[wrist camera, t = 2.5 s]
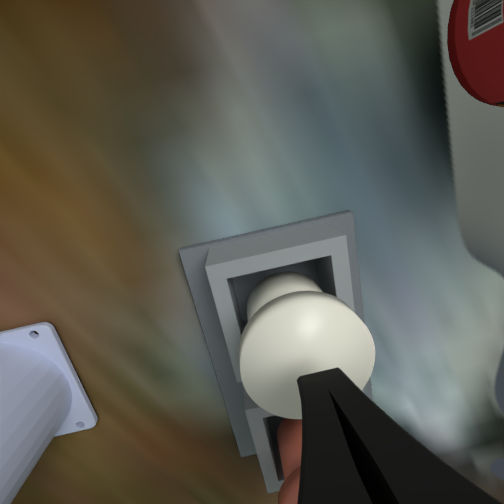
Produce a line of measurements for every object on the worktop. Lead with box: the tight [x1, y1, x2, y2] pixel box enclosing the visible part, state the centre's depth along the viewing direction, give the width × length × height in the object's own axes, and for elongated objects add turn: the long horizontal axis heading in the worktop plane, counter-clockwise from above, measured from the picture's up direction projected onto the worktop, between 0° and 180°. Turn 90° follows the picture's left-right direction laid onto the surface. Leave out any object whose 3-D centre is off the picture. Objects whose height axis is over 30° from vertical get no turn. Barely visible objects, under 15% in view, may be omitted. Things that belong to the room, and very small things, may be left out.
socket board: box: [179, 210, 373, 493], centre depth 17 cm, size 10×16×4 cm, turn 12°
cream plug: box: [239, 271, 375, 419], centre depth 13 cm, size 5×5×4 cm
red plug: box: [277, 418, 302, 504], centre depth 15 cm, size 5×5×4 cm
